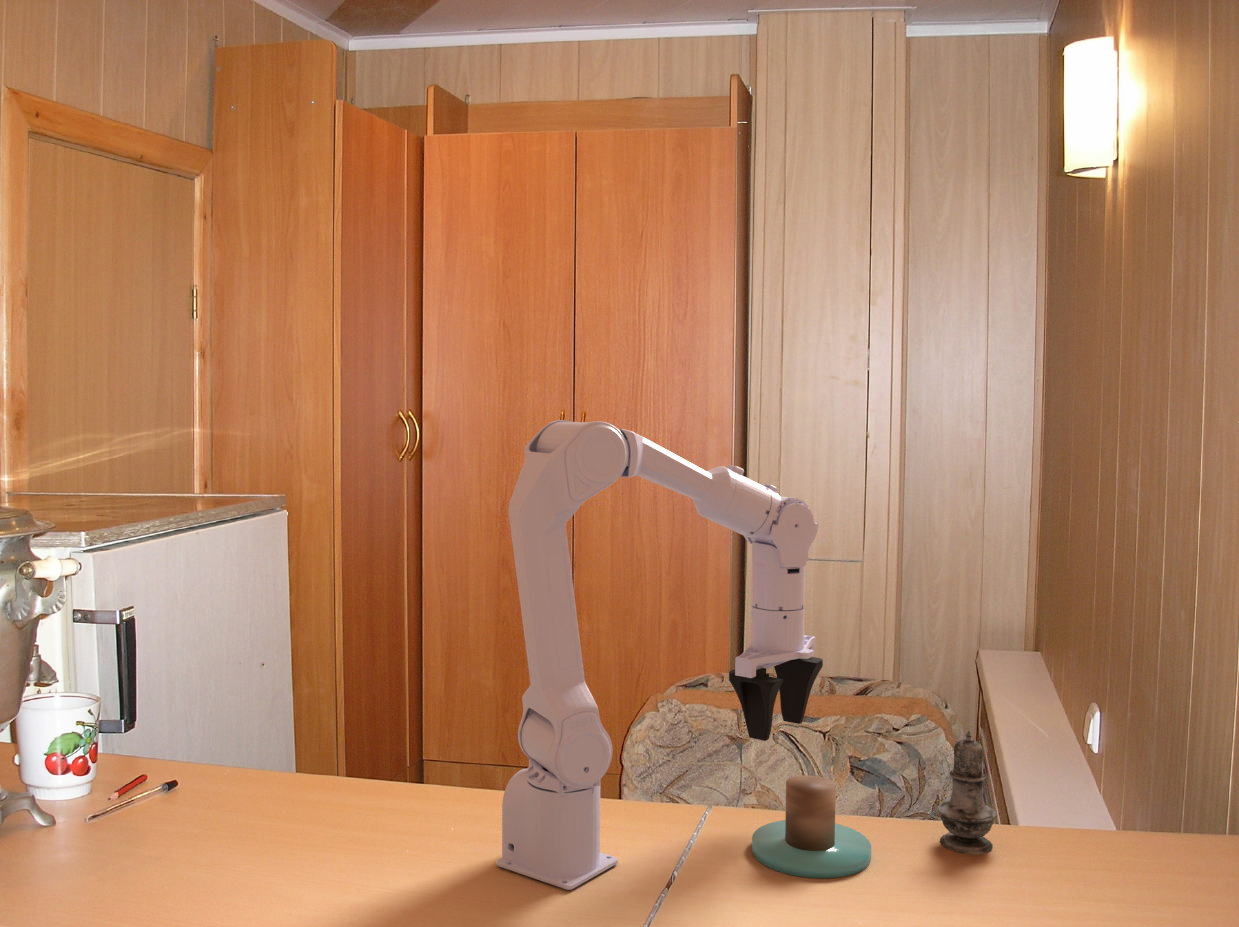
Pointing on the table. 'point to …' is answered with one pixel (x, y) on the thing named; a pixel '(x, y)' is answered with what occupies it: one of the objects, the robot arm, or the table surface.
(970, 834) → the salt shaker
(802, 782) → the walnut cylinder
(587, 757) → the robot arm
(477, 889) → the table surface
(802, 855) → the teal rounded disc
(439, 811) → the table surface
